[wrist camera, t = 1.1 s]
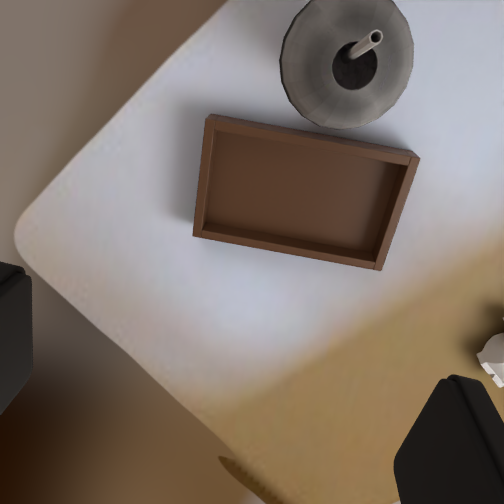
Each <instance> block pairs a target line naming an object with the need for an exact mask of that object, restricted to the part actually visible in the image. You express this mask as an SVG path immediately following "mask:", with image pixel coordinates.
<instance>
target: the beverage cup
mask: <svg viewBox="0 0 504 504" xmlns="http://www.w3.org/2000/svg"><path fill="white" fill-rule="evenodd" d="M413 58H414V42H413V39H412V35H411V32H410V28H409V25H408V22H407V20H406V18H405V17H404V16H403V14H402V13H401V11H400V10H399V9H398V7H397V6H396V4H395V3H394V2H393V1H392V0H310V1H309V2H308V3H307V4H306V5H305V7H304V8H303V9H302V10H301V11H300V12H299V13H298V14H297V15H296V16H295V17H294V19H293V21H292V23H291V25H290V27H289V28H288V30H287V32H286V34H285V36H284V39H283V44H282V49H281V54H280V59H279V63H280V74H281V83H282V85H283V87H284V90H285V92H286V95H287V97H288V99H289V101H290V103H291V104H292V105H293V106H294V107H295V108H296V110H297V111H298V112H299V113H300V114H301V115H302V116H303V117H304V118H306V119H308V120H310V121H311V122H313V123H315V124H316V125H318V126H322V127H327V128H331V129H336V130H339V129H348V128H357V127H360V126H363V125H365V124H367V123H369V122H372V121H374V120H376V119H378V118H379V117H381V116H382V115H383V114H384V113H385V112H387V111H388V110H389V109H390V108H391V107H392V106H394V105H395V103H396V102H397V100H398V99H399V97H400V96H401V94H402V93H403V91H404V90H405V88H406V86H407V83H408V80H409V77H410V74H411V71H412V68H413Z"/></svg>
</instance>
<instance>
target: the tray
mask: <svg viewBox="0 0 504 504" xmlns="http://www.w3.org/2000/svg"><path fill="white" fill-rule="evenodd" d="M419 162H420V158H419V157H418V156H417V155H416V154H415V153H414V152H413V151H410V150H405V149H399V148H394V147H388V146H383V145H378V144H372V143H367V142H361V141H356V140H351V139H345V138H340V137H335V136H329V135H324V134H318V133H313V132H308V131H302V130H297V129H292V128H286V127H281V126H275V125H270V124H265V123H259V122H254V121H248V120H243V119H238V118H232V117H227V116H222V115H216V114H210V115H209V116H208V117H207V118H206V119H205V128H204V137H203V146H202V155H201V164H200V173H199V181H198V190H197V199H196V208H195V217H194V226H193V235H192V236H194V237H199V238H205V239H210V240H215V241H221V242H226V243H232V244H237V245H242V246H248V247H253V248H259V249H264V250H270V251H275V252H280V253H286V254H291V255H297V256H302V257H307V258H313V259H318V260H324V261H329V262H334V263H340V264H345V265H351V266H356V267H361V268H367V269H373V270H378V271H381V270H382V267H383V265H384V262H385V259H386V256H387V253H388V250H389V247H390V244H391V242H392V239H393V236H394V233H395V230H396V227H397V224H398V222H399V219H400V216H401V213H402V210H403V207H404V204H405V202H406V199H407V196H408V193H409V190H410V187H411V184H412V182H413V179H414V176H415V173H416V170H417V167H418V164H419Z"/></svg>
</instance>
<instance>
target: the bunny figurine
mask: <svg viewBox="0 0 504 504" xmlns="http://www.w3.org/2000/svg"><path fill="white" fill-rule="evenodd" d="M503 320H504V317H503ZM477 357H478V359H479V362H480V364H481V366H482V367H483V368H484V369H485V371H486V372H487V373H488V374H490V375H491V377H492V379H493V380H494V382H495V383H496V384H497V385H498V386H499V388H500V387H503V386H504V333H500V334H497V335H493V336H492V337H491V338H490V339H489V340H488V341H487V343H486V345H485V347H484V348H483V350H482V352H480V353H477Z"/></svg>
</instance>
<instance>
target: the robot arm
mask: <svg viewBox="0 0 504 504" xmlns="http://www.w3.org/2000/svg"><path fill="white" fill-rule="evenodd" d="M32 348H33V344H32V281H31V277H30V276H28V275H26V274H25V270H24V268H22V267H20V266H16V265H12V264H8V263H4V262H0V415H1V414H2V412H3V411H4V410H5V409H6V407H7V406H8V405H9V404H10V402H11V401H12V400H13V399H14V397H15V396H16V395H17V394H18V392H19V391H20V390H21V388H22V387H23V386H24V385H25V383H26V382H27V381H28V379H29V377H30V374H31V372H32V368H33V349H32ZM394 474H395V479H396V483H397V488H398V492H399V497H400V501H401V504H504V423H503V421H502V419H501V417H500V415H499V413H498V411H497V410H496V408H495V406H494V404H493V402H492V400H491V398H490V396H489V395H488V393H487V391H486V389H485V387H484V385H483V384H482V383H481V382H480V381H478V380H475V379H471V378H467V377H463V376H459V375H450V376H449V377H448V378H447V379H441V380H440V381H439V382H438V384H437V385H436V387H435V389H434V390H433V392H432V394H431V396H430V397H429V399H428V401H427V402H426V404H425V406H424V408H423V409H422V411H421V413H420V414H419V416H418V418H417V419H416V421H415V423H414V425H413V426H412V428H411V430H410V431H409V433H408V435H407V437H406V438H405V440H404V442H403V443H402V445H401V447H400V448H399V450H398V452H397V454H396V456H395V459H394Z"/></svg>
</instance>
